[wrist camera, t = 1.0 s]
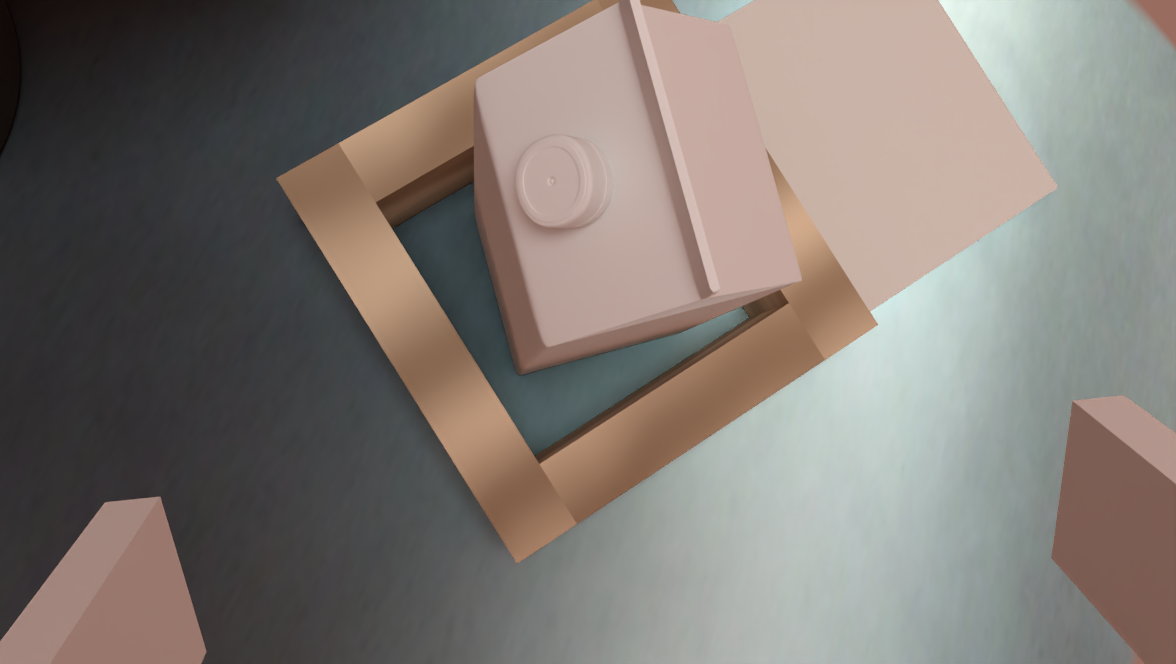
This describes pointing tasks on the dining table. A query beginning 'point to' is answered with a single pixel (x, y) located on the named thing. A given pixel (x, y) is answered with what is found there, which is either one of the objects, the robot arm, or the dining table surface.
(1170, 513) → the robot arm
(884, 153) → the pink mat
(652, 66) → the milk carton
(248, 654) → the dining table surface
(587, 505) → the frame
